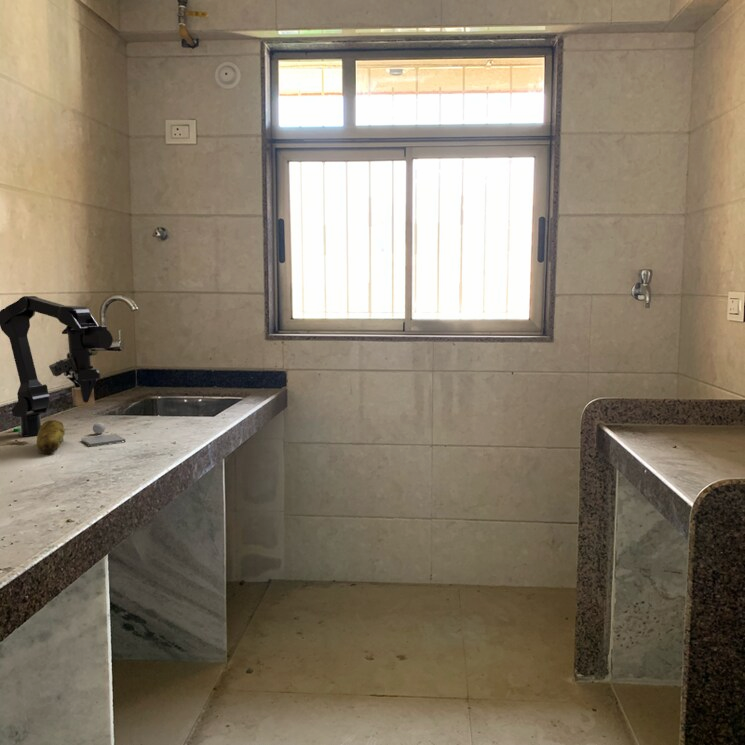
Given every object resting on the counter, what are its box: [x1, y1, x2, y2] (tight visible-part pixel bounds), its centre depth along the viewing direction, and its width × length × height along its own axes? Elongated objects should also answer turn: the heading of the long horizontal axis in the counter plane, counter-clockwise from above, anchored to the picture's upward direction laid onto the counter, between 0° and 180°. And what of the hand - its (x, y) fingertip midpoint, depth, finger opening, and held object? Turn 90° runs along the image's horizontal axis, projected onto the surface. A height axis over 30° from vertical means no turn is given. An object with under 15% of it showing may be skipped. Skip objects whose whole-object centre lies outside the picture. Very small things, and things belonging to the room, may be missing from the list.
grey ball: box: [92, 422, 106, 435], centre depth 222 cm, size 4×4×4 cm
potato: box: [36, 419, 65, 455], centre depth 200 cm, size 8×13×8 cm, turn 1°
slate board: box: [80, 433, 126, 447], centre depth 211 cm, size 10×10×1 cm
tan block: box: [71, 387, 96, 407], centre depth 213 cm, size 5×5×5 cm
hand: (83, 401), depth 213 cm, fingers closed on tan block, 5 cm apart
